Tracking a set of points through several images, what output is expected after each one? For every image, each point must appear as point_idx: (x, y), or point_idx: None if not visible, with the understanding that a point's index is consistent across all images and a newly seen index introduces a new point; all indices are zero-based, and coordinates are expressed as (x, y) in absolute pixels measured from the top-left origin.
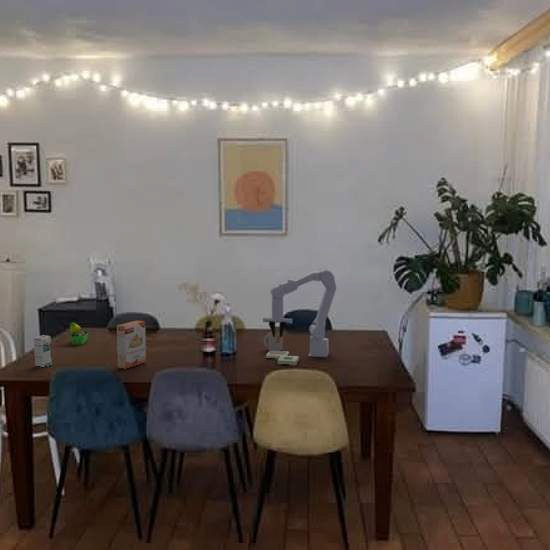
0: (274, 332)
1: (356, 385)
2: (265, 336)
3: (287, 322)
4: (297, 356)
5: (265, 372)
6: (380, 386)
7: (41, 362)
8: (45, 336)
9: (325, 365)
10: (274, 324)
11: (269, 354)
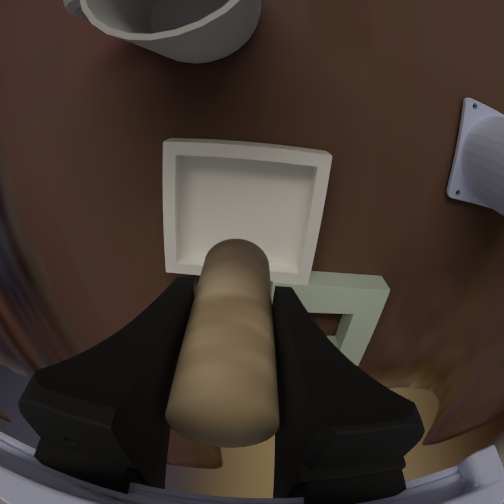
0: (180, 342)
1: (449, 436)
2: (66, 2)
3: (416, 489)
4: (381, 293)
5: None
6: (483, 424)
7: None
8: None
9: (466, 332)
10: (148, 439)
11: (177, 210)
